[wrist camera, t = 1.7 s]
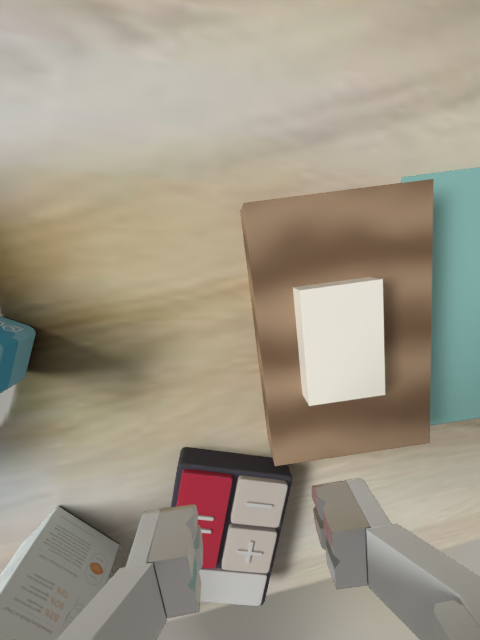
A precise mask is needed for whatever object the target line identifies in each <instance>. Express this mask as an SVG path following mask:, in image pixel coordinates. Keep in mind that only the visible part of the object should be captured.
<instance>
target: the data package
mask: <svg viewBox="0 0 480 640" xmlns="http://www.w3.org/2000/svg"><path fill="white" fill-rule="evenodd" d="M35 335H36V332H35V330H34V329H33V328H32V327H30V326H28V325H26V324H23V323H20V322H16V321H13V320H10V319H7V318H4V317H1V316H0V393H2V392H3V391H5V390H7V389H8V388H10V387H11V386H13V385H15V384H16V383H18V382H19V381H21V380H22V379H23V378H24V377H25V375H26V371H27V367H28V363H29V359H30V355H31V351H32V347H33V343H34V339H35Z"/></svg>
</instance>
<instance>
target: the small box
mask: <svg viewBox="0 0 480 640" xmlns="http://www.w3.org/2000/svg"><path fill="white" fill-rule="evenodd" d="M118 549H119V544H117V543H116V542H114V541H112V540H111V539H109V538H108V537H106V536H105V535H103V534H101V533H100V532H98V531H97V530H95V529H93V528H92V527H90V526H89V525H87V524H86V523H84V522H82V521H81V520H79V519H78V518H76V517H75V516H73V515H71V514H70V513H68V512H67V511H65V510H63V509H62V508H61V507H59V506H58V507H56V509H55V510H54V511H53V512H52V513H51V514H50V515H49V516H48V517H47V518H46V519H45V520H44V521H43V522H42V523H41V525H40V526H39V527H38V528H37V529H36V530H35V531H34V532H33V533H32V534H31V535H30V536H29V537H28V538H27V539H26V540H25V541H24V542H23V543H22V544H21V546H20V547H19V549H18V550H17V552H16V553H15V555H14V556H13V557H12V559H11V560H10V562H9V563H8V565H7V566H6V568H5V569H4V570H3V572H2V573H1V575H0V640H57V638H58V637H59V636H60V635H61V634H62V633H63V632H64V631H65V629H66V628H67V627H68V626H69V625H70V624H71V623H72V622H73V620H74V619H75V618H76V617H77V616H78V615H79V614H80V613H81V611H82V610H83V609H84V608H85V607H86V606H87V605H88V604H89V602H90V601H91V600H92V599H93V598H94V597H95V596H96V595H97V593H98V592H99V591H100V590H101V589H102V588H103V587H104V586H105V584H106V583H107V581H108V578H109V575H110V572H111V570H112V567H113V564H114V561H115V558H116V555H117V552H118Z"/></svg>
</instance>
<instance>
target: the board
mask: <svg viewBox="0 0 480 640" xmlns="http://www.w3.org/2000/svg"><path fill="white" fill-rule="evenodd" d="M433 182H434V179H429V180H421V181H413V182H405V183H397V184H389V185H382V186H374V187H366V188H358V189H350V190H343V191H335V192H327V193H319V194H311V195H303V196H296V197H288V198H280V199H272V200H264V201H256V202H249V203H243V206H242V208H241V220H242V228H243V236H244V244H245V253H246V261H247V269H248V277H249V286H250V294H251V302H252V310H253V318H254V327H255V335H256V343H257V351H258V360H259V368H260V376H261V384H262V393H263V401H264V409H265V417H266V425H267V434H268V440H269V444H270V449H271V453H272V457H273V461H274V465H275V466H280V465H287V464H293V463H300V462H307V461H313V460H320V459H326V458H333V457H340V456H346V455H353V454H359V453H366V452H373V451H379V450H386V449H393V448H399V447H406V446H412V445H419V444H426V443H430V381H431V315H432V248H433ZM365 277H373V278H379V279H383V310H384V356H385V395H381V396H374V397H368V398H361V399H354V400H347V401H340V402H333V403H327V404H320V405H313V406H309V405H308V403H307V401H306V400H305V398H304V396H303V394H302V385H301V373H300V362H299V351H298V340H297V329H296V317H295V306H294V295H293V287H299V286H306V285H314V284H321V283H328V282H336V281H343V280H351V279H358V278H365Z"/></svg>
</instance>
